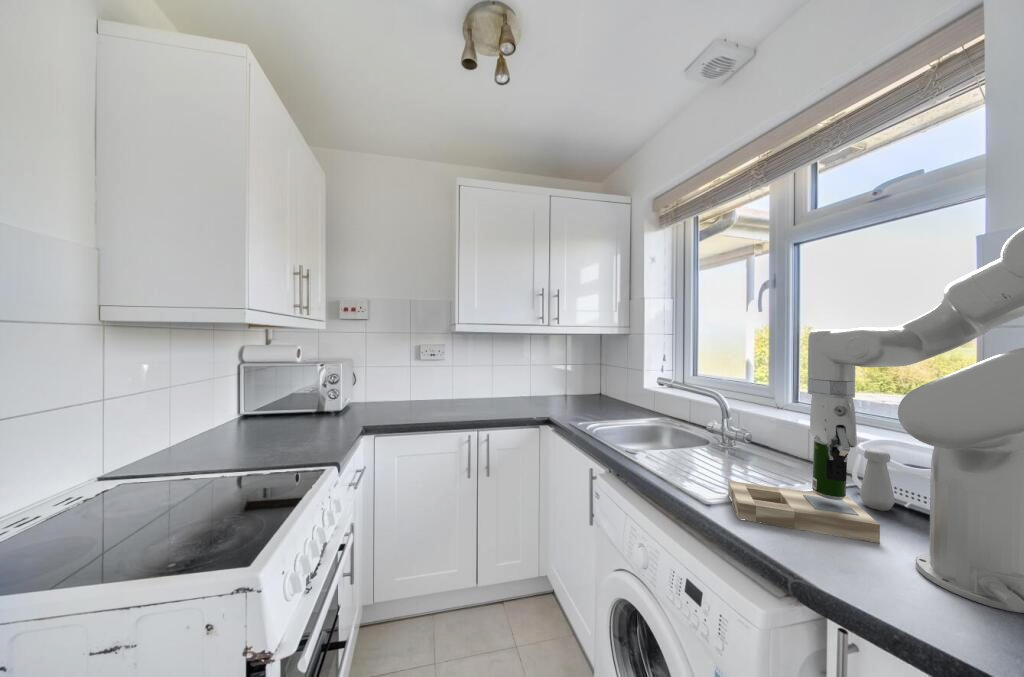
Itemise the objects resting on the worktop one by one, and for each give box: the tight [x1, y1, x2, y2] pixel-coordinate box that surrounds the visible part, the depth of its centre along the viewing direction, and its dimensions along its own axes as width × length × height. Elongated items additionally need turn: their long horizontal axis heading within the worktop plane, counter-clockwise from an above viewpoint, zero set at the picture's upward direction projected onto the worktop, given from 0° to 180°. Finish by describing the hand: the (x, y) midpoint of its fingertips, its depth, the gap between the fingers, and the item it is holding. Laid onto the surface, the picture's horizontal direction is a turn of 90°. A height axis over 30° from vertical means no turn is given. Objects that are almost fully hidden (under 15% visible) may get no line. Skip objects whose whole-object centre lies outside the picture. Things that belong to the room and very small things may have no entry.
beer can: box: [811, 435, 847, 500], centre depth 77 cm, size 5×5×12 cm
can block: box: [727, 480, 881, 544], centre depth 80 cm, size 13×23×4 cm, turn 67°
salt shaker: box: [859, 448, 896, 512], centre depth 84 cm, size 6×6×13 cm
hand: (829, 473), depth 77 cm, fingers closed on beer can, 5 cm apart
